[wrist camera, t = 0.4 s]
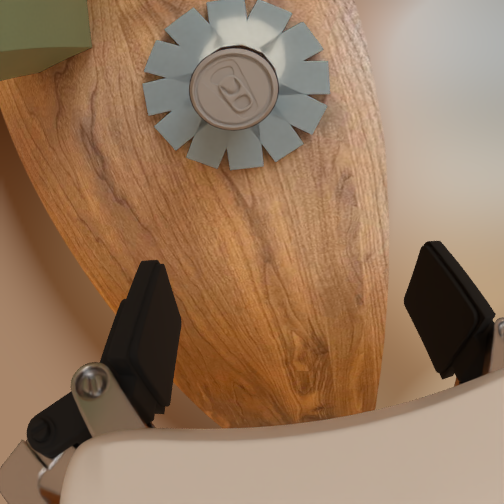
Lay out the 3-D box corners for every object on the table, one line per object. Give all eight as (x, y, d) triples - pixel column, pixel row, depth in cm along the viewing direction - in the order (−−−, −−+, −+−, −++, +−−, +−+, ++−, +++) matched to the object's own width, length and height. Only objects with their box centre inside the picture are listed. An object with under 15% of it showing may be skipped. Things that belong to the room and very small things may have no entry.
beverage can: (244, 45, 23) (246, 28, 13) (276, 90, 26) (299, 103, 16) (195, 77, 24) (166, 82, 15) (228, 120, 27) (221, 151, 18)
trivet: (135, 21, 20) (132, 19, 19) (318, -3, 20) (321, -5, 19) (164, 177, 31) (162, 180, 30) (329, 158, 30) (332, 161, 29)
